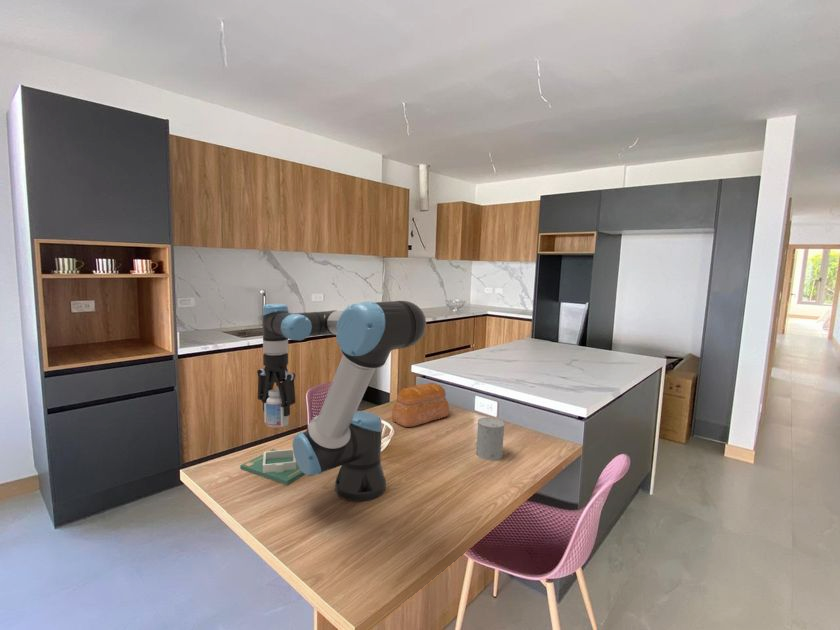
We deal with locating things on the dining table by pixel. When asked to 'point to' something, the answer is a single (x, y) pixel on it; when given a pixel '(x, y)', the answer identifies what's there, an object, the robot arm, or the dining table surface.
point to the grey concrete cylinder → (490, 438)
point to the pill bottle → (273, 408)
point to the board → (272, 474)
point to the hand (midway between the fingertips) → (276, 423)
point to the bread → (420, 405)
